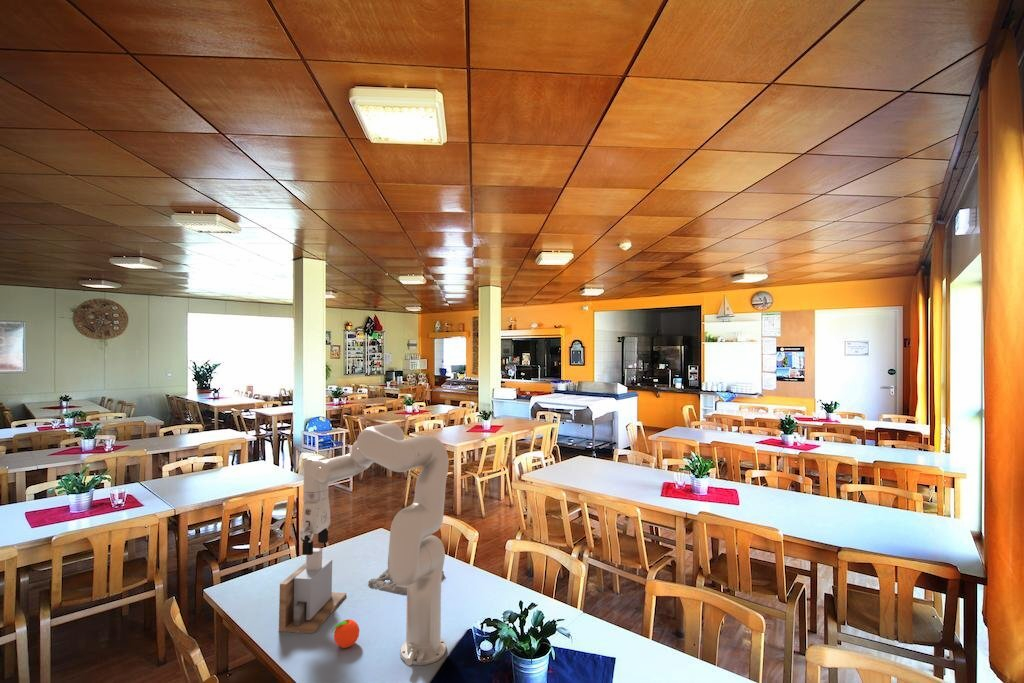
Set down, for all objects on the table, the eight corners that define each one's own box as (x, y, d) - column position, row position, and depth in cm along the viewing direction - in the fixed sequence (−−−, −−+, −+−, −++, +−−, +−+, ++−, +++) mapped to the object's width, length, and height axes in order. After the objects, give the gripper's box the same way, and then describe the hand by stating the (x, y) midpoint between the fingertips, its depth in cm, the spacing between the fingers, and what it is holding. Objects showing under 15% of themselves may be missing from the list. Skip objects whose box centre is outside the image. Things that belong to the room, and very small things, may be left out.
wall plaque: (447, 576, 178) (447, 565, 178) (421, 600, 160) (421, 588, 160) (393, 566, 186) (394, 556, 186) (363, 588, 168) (363, 577, 168)
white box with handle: (309, 620, 144) (311, 559, 145) (293, 619, 145) (294, 558, 145) (331, 597, 158) (332, 541, 159) (316, 596, 159) (317, 540, 159)
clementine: (333, 658, 129) (334, 631, 129) (326, 645, 134) (327, 620, 135) (362, 647, 133) (363, 622, 134) (354, 635, 139) (355, 611, 139)
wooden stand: (313, 633, 140) (314, 585, 140) (278, 631, 141) (279, 583, 141) (346, 596, 162) (347, 555, 162) (315, 594, 163) (316, 553, 163)
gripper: (313, 503, 144) (312, 560, 143) (339, 488, 161) (338, 538, 160) (290, 502, 144) (289, 559, 144) (318, 487, 162) (318, 538, 161)
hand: (315, 548), depth 152 cm, fingers open, 9 cm apart
